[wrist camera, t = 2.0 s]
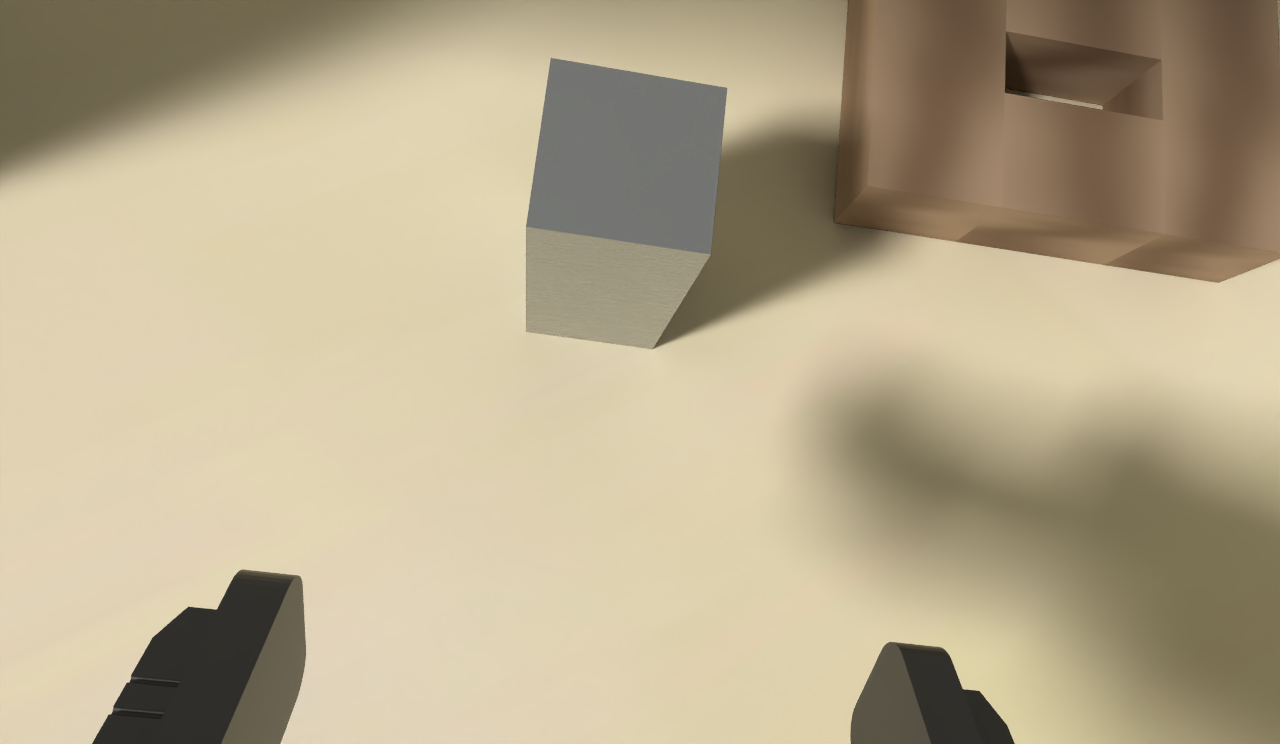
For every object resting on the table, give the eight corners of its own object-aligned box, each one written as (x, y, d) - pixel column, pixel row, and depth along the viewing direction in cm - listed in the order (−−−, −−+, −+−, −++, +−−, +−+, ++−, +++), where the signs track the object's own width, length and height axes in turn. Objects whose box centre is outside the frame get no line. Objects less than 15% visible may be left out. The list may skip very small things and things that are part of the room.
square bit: (525, 331, 27) (526, 227, 19) (543, 211, 28) (550, 57, 19) (652, 349, 28) (710, 254, 19) (665, 230, 29) (727, 87, 20)
